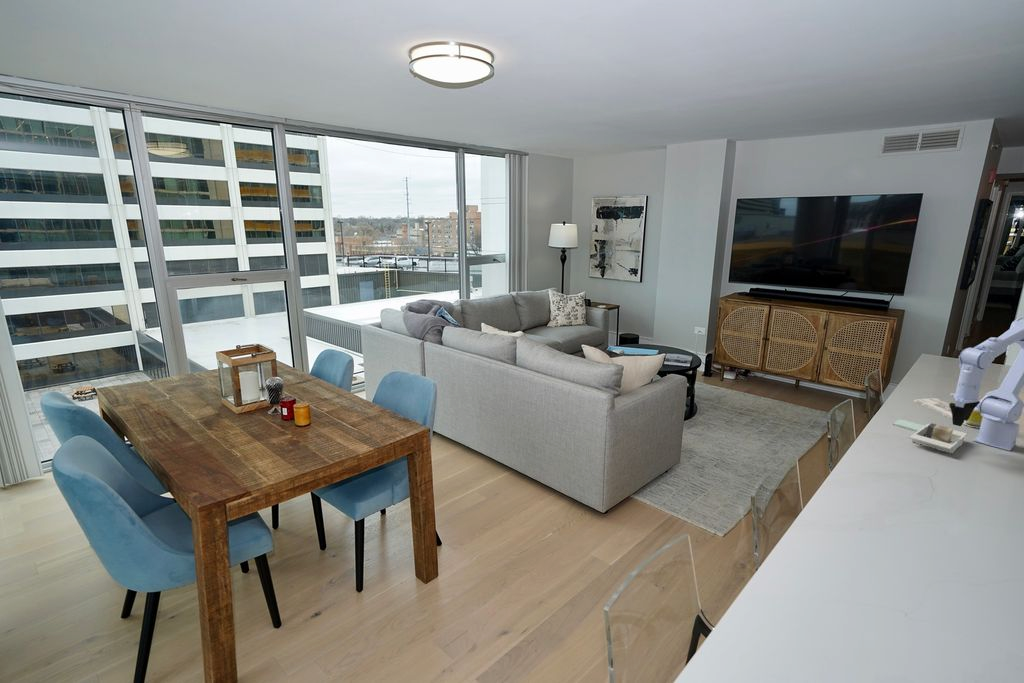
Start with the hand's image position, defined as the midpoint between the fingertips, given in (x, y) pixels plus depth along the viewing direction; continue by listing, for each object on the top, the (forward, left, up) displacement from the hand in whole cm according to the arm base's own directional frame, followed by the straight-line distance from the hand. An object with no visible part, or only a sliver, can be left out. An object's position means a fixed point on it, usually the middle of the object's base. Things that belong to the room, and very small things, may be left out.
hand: (960, 422), depth 169 cm
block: (+5, 0, -10) cm, 11 cm away
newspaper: (+12, -42, -10) cm, 45 cm away
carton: (+5, 0, -9) cm, 11 cm away
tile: (+16, -10, -9) cm, 21 cm away
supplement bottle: (+2, -30, -10) cm, 32 cm away
